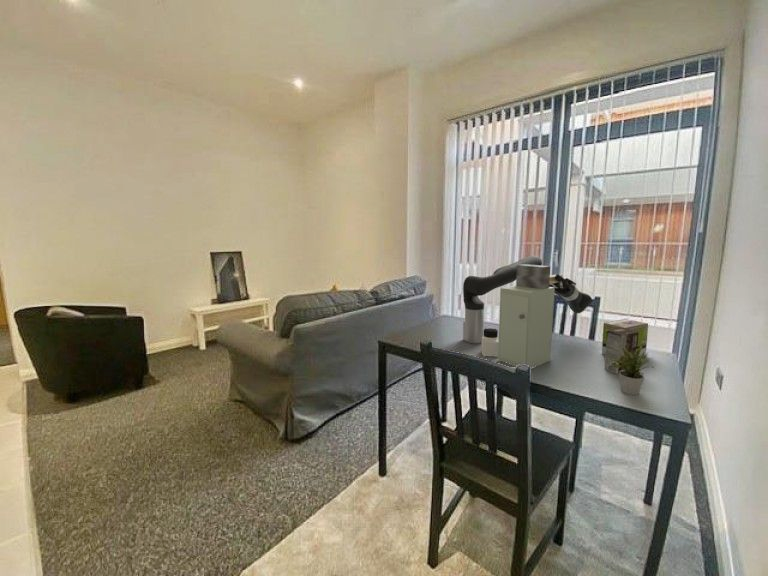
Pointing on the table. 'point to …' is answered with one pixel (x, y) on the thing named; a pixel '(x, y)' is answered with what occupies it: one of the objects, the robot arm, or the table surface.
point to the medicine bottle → (490, 342)
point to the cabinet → (525, 325)
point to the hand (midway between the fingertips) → (551, 275)
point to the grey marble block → (534, 276)
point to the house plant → (631, 371)
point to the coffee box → (625, 340)
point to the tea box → (630, 325)
